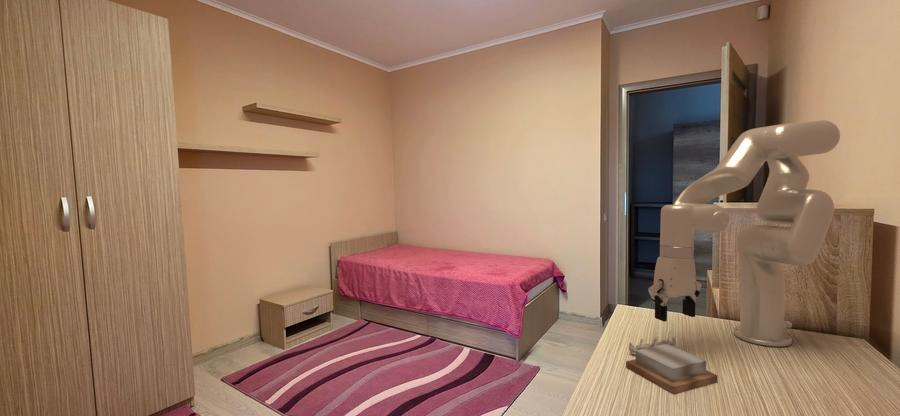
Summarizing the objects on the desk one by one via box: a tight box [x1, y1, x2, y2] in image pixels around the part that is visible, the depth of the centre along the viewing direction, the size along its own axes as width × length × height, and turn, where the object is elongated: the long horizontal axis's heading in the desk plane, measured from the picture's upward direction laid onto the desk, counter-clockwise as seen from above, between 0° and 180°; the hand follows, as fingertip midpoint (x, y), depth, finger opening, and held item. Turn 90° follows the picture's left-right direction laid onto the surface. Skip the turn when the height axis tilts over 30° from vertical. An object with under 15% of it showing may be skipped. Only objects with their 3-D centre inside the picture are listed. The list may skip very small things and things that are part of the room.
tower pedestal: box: [625, 344, 718, 395], centre depth 88 cm, size 13×13×4 cm
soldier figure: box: [628, 336, 676, 354], centre depth 99 cm, size 8×5×12 cm
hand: (674, 317), depth 99 cm, fingers open, 9 cm apart
